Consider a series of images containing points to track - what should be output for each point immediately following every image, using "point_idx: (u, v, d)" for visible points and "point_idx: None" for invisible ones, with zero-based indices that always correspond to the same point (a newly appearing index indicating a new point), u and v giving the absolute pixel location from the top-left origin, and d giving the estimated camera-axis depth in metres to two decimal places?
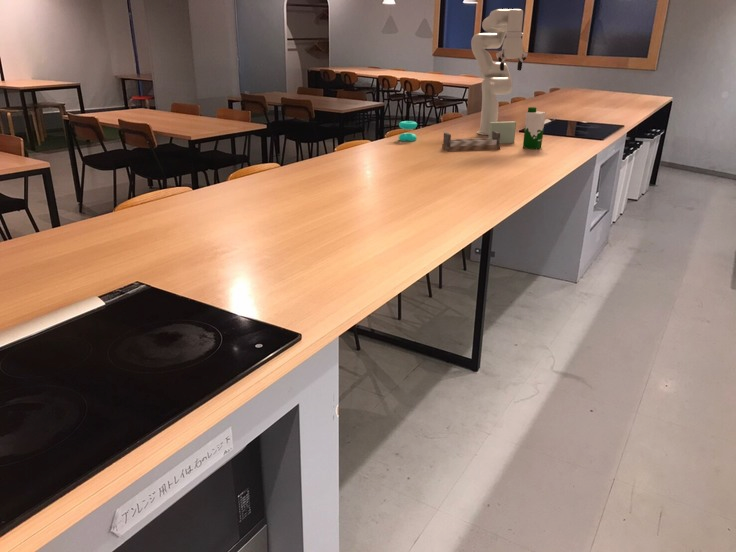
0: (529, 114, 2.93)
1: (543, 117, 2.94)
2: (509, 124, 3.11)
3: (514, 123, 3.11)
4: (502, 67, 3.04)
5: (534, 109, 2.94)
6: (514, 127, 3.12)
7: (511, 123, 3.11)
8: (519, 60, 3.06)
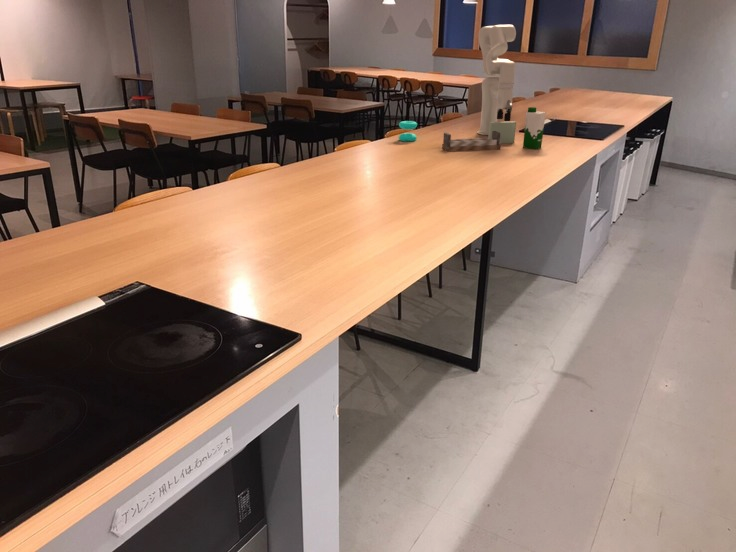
0: (529, 114, 2.93)
1: (543, 117, 2.94)
2: (509, 124, 3.11)
3: (514, 123, 3.11)
4: (509, 117, 3.05)
5: (534, 109, 2.94)
6: (514, 127, 3.12)
7: (511, 123, 3.11)
8: (499, 109, 3.13)
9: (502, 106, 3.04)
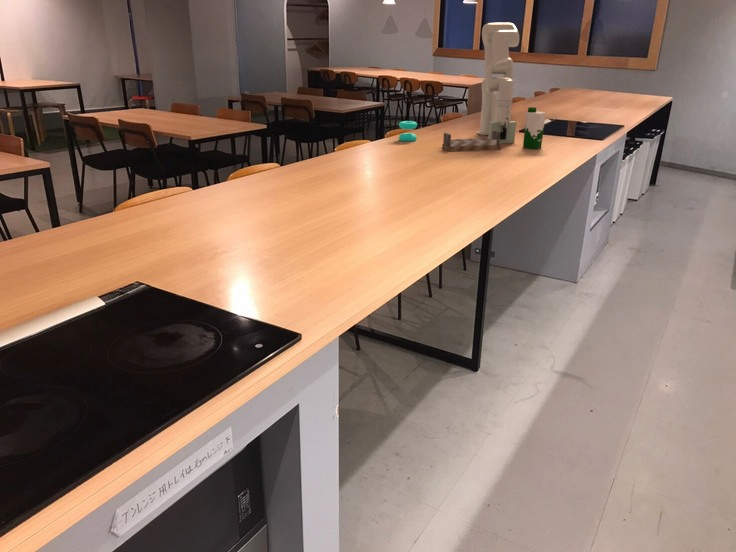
0: (529, 114, 2.93)
1: (543, 117, 2.94)
2: None
3: (514, 123, 3.11)
4: (505, 136, 3.12)
5: (534, 109, 2.94)
6: (514, 127, 3.12)
7: (511, 123, 3.11)
8: None
9: (500, 123, 3.07)
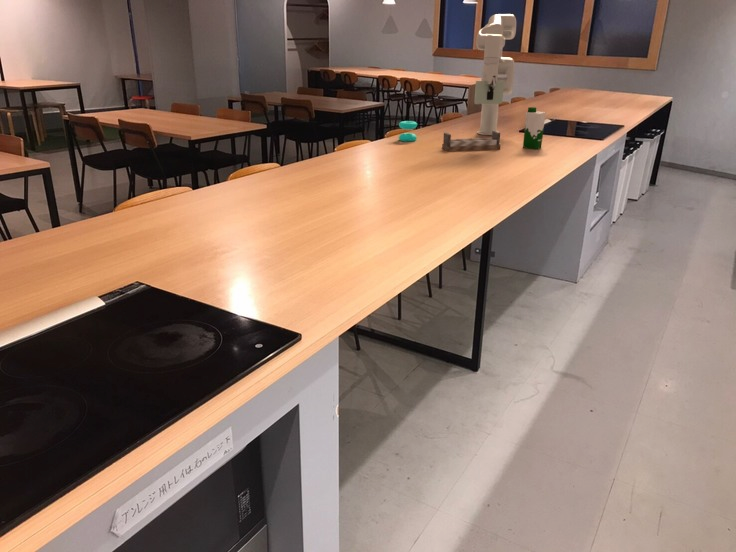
0: (529, 114, 2.93)
1: (543, 117, 2.94)
2: None
3: (502, 82, 2.94)
4: (492, 96, 2.95)
5: (534, 109, 2.94)
6: (502, 86, 2.95)
7: (498, 82, 2.94)
8: None
9: (487, 82, 2.90)
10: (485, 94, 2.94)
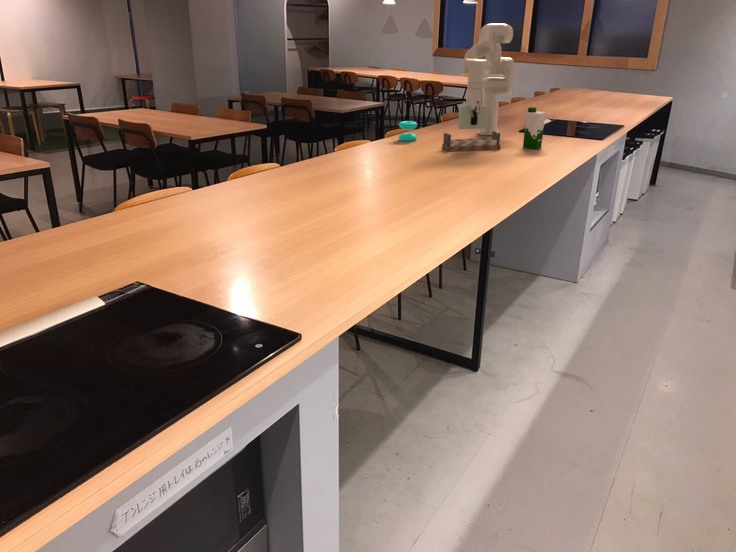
0: (529, 114, 2.93)
1: (543, 117, 2.94)
2: None
3: (486, 107, 2.91)
4: (476, 121, 2.92)
5: (534, 109, 2.94)
6: (486, 111, 2.92)
7: (483, 107, 2.91)
8: None
9: (471, 107, 2.88)
10: (469, 119, 2.92)
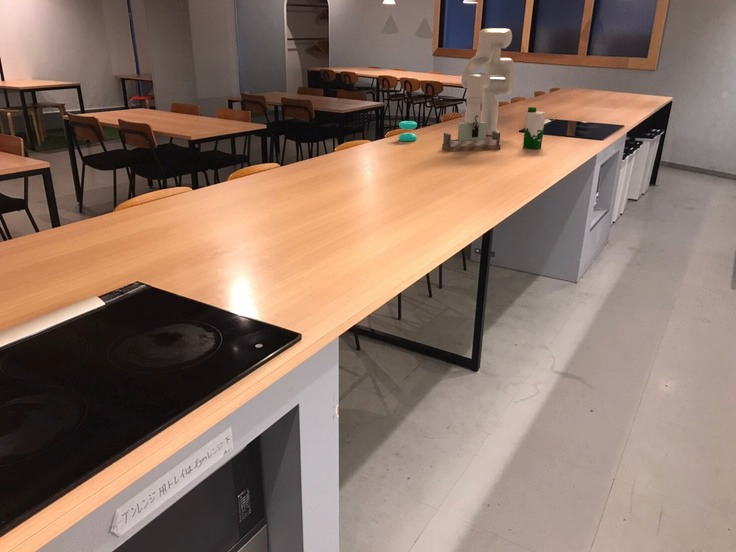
0: (529, 114, 2.93)
1: (543, 117, 2.94)
2: (479, 125, 2.95)
3: (485, 124, 2.95)
4: (477, 134, 2.93)
5: (534, 109, 2.94)
6: (485, 128, 2.96)
7: (481, 124, 2.95)
8: None
9: (470, 121, 2.91)
10: (468, 135, 2.96)
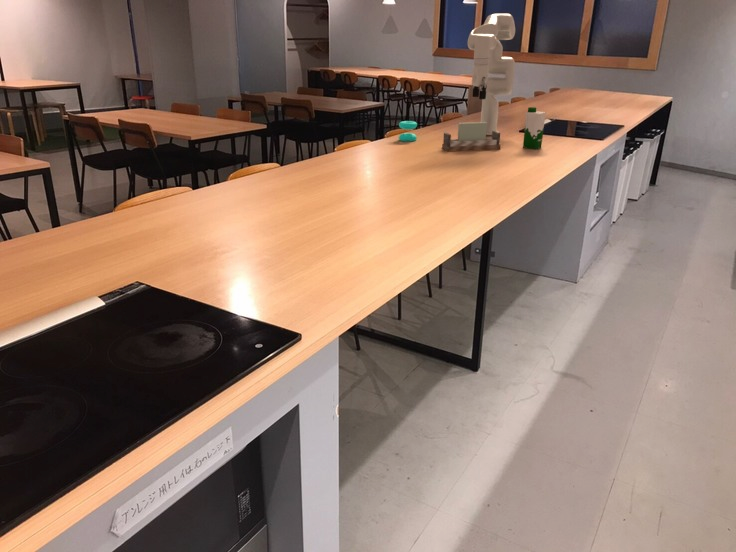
0: (529, 114, 2.93)
1: (543, 117, 2.94)
2: (479, 125, 2.95)
3: (485, 124, 2.95)
4: (484, 95, 2.88)
5: (534, 109, 2.94)
6: (485, 128, 2.96)
7: (481, 124, 2.95)
8: (474, 86, 2.96)
9: (477, 83, 2.87)
10: (468, 135, 2.96)
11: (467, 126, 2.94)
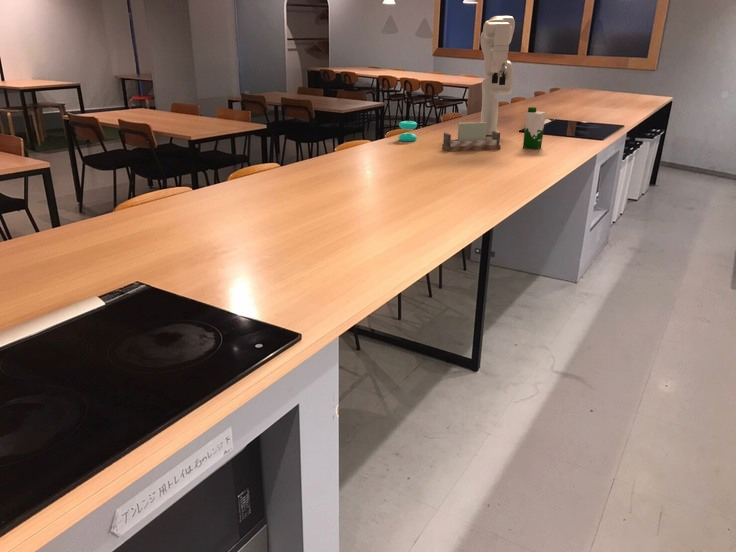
0: (529, 114, 2.93)
1: (543, 117, 2.94)
2: (479, 125, 2.95)
3: (485, 124, 2.95)
4: (504, 81, 2.99)
5: (534, 109, 2.94)
6: (485, 128, 2.96)
7: (481, 124, 2.95)
8: (493, 73, 3.06)
9: (497, 69, 2.97)
10: (468, 135, 2.96)
11: (467, 126, 2.94)
